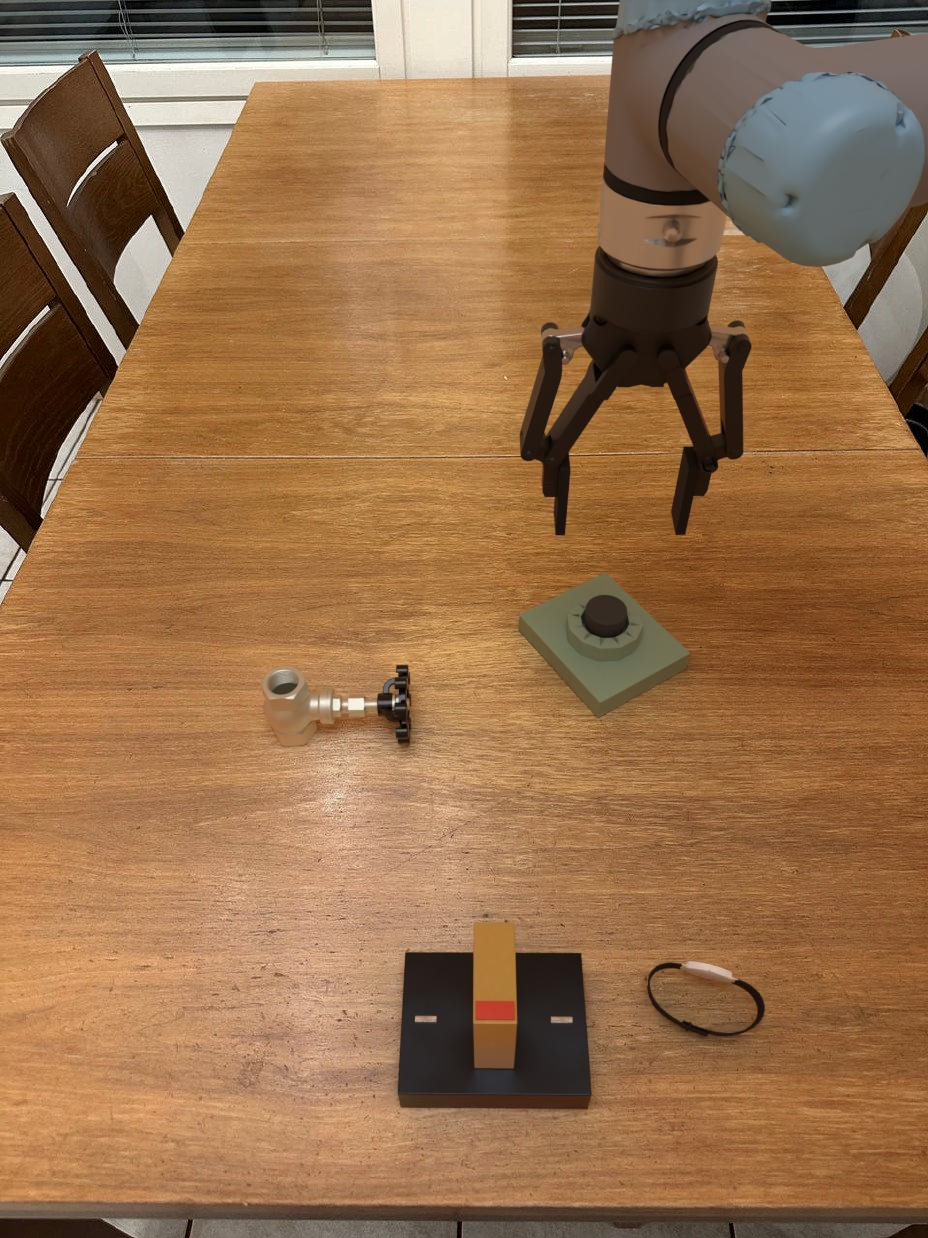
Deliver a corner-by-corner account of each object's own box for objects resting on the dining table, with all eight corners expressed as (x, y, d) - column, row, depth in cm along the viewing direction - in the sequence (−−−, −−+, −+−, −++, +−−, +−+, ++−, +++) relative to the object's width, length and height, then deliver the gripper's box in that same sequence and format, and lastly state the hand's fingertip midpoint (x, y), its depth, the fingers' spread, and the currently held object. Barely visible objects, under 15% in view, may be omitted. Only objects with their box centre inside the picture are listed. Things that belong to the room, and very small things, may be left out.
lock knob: (474, 973, 63) (473, 920, 57) (511, 973, 63) (514, 920, 57) (474, 1068, 59) (473, 1022, 53) (514, 1069, 59) (517, 1022, 53)
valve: (266, 763, 78) (410, 760, 78) (251, 715, 73) (405, 712, 73) (275, 699, 83) (412, 696, 83) (262, 651, 78) (407, 648, 78)
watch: (760, 988, 65) (772, 967, 63) (755, 1057, 62) (767, 1038, 60) (649, 958, 67) (656, 936, 64) (638, 1024, 64) (645, 1004, 61)
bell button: (633, 627, 83) (635, 613, 82) (601, 644, 82) (602, 630, 80) (607, 602, 85) (610, 588, 84) (575, 618, 84) (577, 605, 82)
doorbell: (686, 668, 84) (694, 639, 81) (597, 718, 81) (602, 689, 78) (603, 587, 91) (607, 558, 88) (518, 630, 88) (519, 600, 85)
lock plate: (578, 970, 66) (581, 951, 64) (588, 1109, 60) (592, 1094, 58) (407, 969, 67) (404, 950, 64) (400, 1108, 61) (397, 1093, 58)
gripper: (482, 281, 56) (483, 557, 72) (849, 277, 55) (764, 556, 72) (482, 222, 61) (482, 493, 77) (818, 218, 60) (745, 491, 77)
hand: (618, 523), depth 75 cm, fingers open, 9 cm apart
